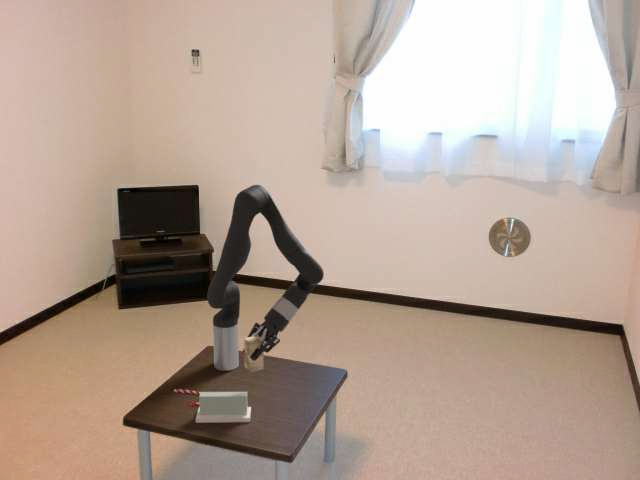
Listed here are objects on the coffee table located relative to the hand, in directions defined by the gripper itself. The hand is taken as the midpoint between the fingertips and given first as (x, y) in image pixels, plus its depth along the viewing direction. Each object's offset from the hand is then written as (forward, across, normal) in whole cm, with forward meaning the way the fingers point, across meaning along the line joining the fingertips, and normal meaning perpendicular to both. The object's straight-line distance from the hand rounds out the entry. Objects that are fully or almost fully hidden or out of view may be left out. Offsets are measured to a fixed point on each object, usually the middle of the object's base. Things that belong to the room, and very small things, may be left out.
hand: (248, 356), depth 201 cm
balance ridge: (+20, -1, +8) cm, 21 cm away
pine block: (+2, 0, +5) cm, 5 cm away
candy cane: (+24, -19, +5) cm, 31 cm away
